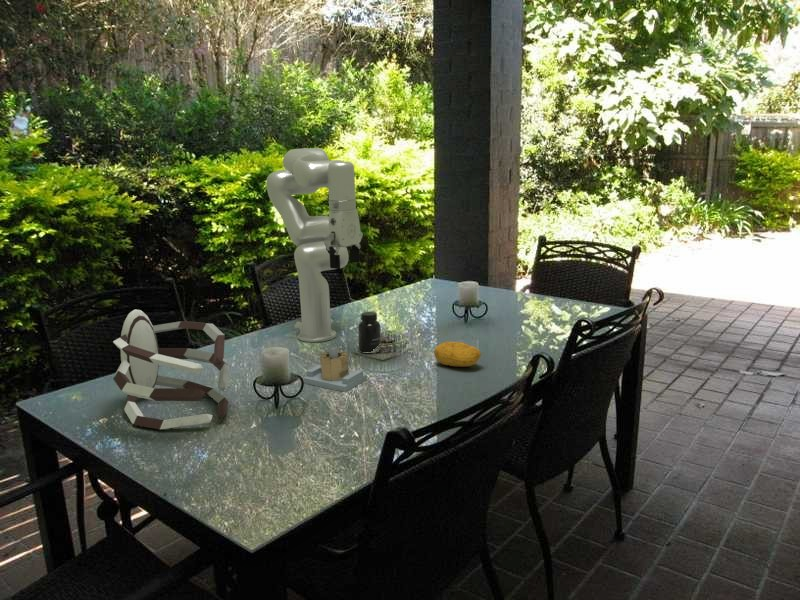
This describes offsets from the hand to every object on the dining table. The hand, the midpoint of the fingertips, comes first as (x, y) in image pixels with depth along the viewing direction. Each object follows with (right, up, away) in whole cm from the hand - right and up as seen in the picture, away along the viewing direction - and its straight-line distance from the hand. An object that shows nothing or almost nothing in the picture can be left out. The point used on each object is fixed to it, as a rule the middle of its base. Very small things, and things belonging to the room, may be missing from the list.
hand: (345, 265), depth 191 cm
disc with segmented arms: (-40, -38, -28) cm, 62 cm away
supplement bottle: (+7, -26, +13) cm, 30 cm away
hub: (-2, -31, -12) cm, 33 cm away
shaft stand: (-2, -32, -12) cm, 34 cm away
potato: (+32, -29, -3) cm, 44 cm away
